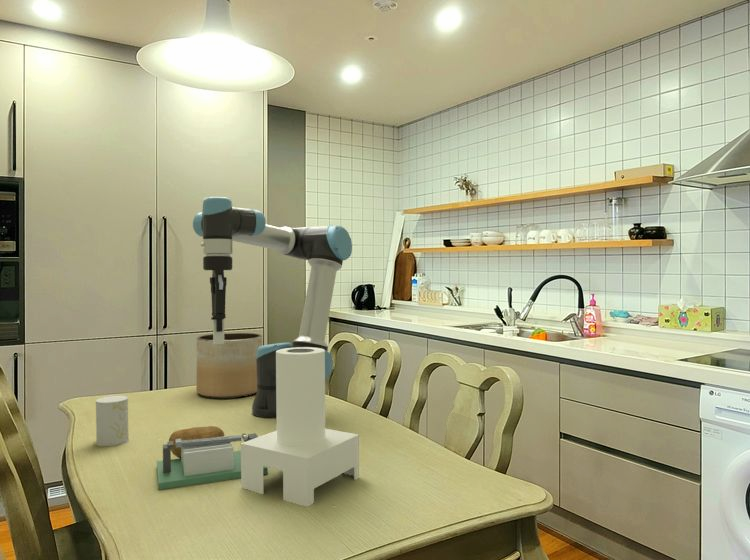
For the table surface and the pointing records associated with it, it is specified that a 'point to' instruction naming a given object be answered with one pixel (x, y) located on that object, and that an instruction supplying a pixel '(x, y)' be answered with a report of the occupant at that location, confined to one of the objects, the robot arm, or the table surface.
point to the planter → (227, 365)
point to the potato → (194, 436)
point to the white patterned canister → (112, 420)
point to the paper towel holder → (300, 432)
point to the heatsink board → (199, 478)
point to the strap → (210, 440)
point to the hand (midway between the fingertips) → (218, 343)
